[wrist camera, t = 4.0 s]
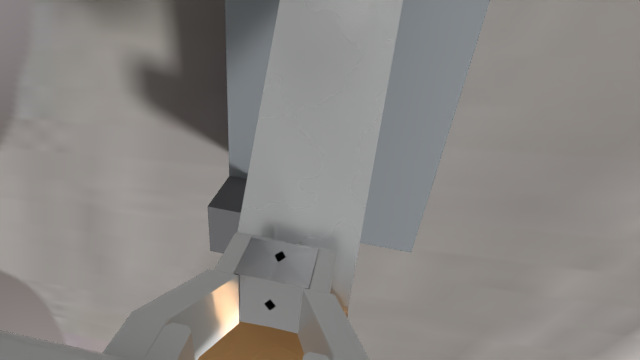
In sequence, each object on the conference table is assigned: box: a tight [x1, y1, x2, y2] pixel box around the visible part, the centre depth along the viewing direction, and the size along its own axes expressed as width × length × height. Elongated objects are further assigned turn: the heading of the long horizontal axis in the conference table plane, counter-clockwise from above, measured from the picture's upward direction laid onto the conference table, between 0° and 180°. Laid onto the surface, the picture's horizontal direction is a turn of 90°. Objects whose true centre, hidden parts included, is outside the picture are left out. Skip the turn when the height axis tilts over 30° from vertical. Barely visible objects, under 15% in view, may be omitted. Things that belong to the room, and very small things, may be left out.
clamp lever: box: [198, 0, 403, 360], centre depth 12 cm, size 4×17×3 cm
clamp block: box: [208, 0, 490, 253], centre depth 19 cm, size 11×20×9 cm, turn 174°
